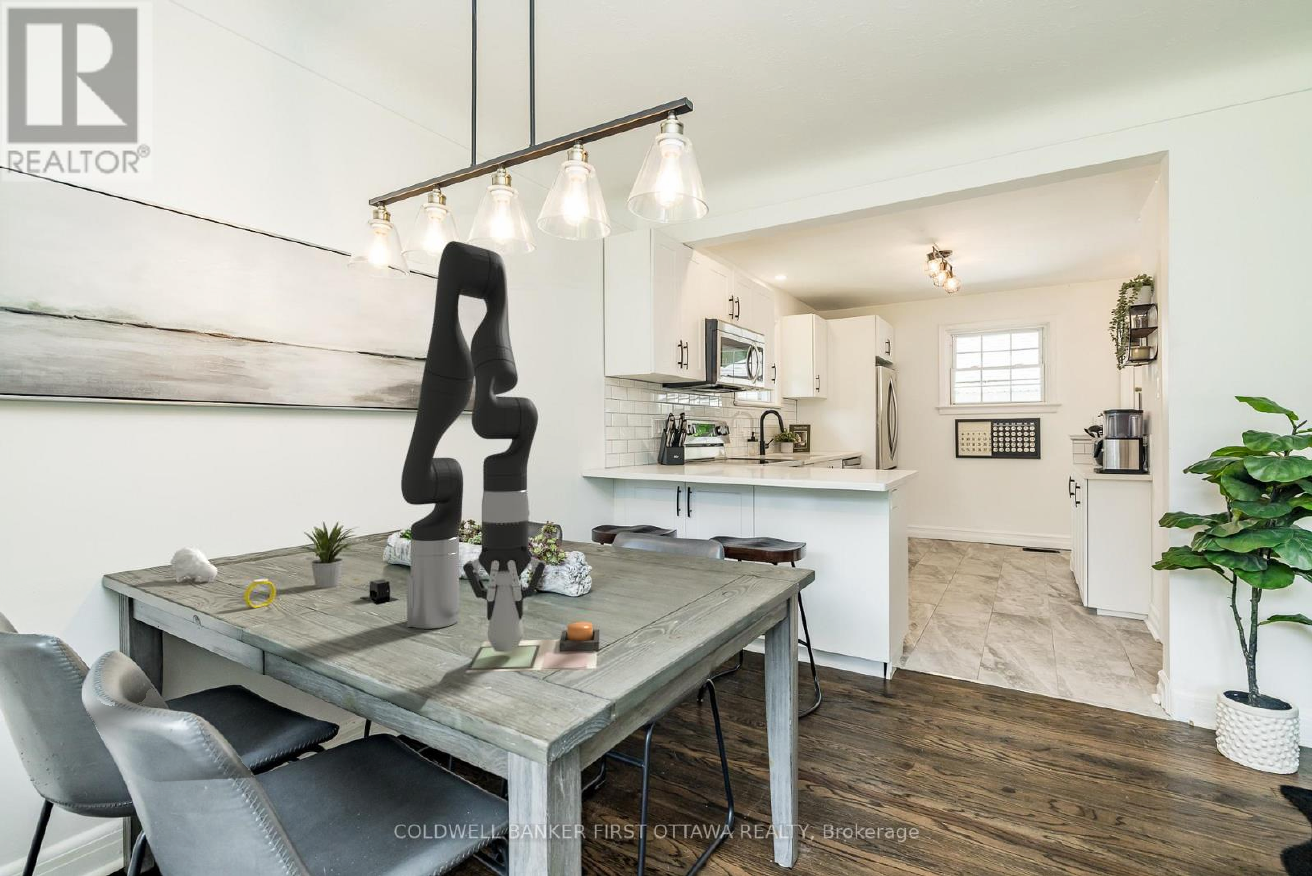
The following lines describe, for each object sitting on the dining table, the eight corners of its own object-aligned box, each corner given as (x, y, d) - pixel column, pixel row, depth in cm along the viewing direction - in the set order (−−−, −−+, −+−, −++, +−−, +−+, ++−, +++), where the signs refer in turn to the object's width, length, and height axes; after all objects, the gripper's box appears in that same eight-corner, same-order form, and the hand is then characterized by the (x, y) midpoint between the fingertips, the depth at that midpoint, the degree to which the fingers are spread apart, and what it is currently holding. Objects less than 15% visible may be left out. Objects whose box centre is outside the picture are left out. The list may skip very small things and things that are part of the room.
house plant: (353, 591, 146) (353, 524, 146) (288, 595, 142) (288, 526, 142) (364, 578, 159) (364, 516, 159) (305, 581, 155) (305, 518, 155)
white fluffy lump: (193, 544, 161) (227, 550, 158) (191, 575, 161) (225, 582, 158) (168, 548, 155) (203, 555, 152) (166, 581, 155) (200, 588, 152)
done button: (566, 641, 102) (566, 630, 102) (568, 633, 107) (568, 622, 107) (592, 641, 103) (592, 629, 103) (593, 632, 107) (593, 621, 107)
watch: (269, 603, 136) (271, 577, 136) (277, 605, 135) (278, 578, 135) (241, 608, 131) (243, 581, 131) (248, 610, 129) (250, 582, 130)
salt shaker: (514, 655, 95) (514, 573, 95) (481, 652, 96) (480, 572, 96) (529, 642, 101) (528, 565, 101) (497, 640, 102) (497, 564, 102)
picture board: (457, 683, 91) (457, 665, 91) (479, 646, 107) (479, 631, 107) (602, 678, 93) (602, 661, 93) (603, 643, 109) (603, 628, 109)
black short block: (407, 602, 138) (407, 582, 138) (375, 609, 132) (375, 588, 132) (382, 593, 146) (382, 574, 146) (351, 599, 140) (351, 580, 140)
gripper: (456, 521, 95) (456, 631, 95) (546, 520, 96) (546, 628, 96) (467, 515, 102) (467, 616, 102) (550, 514, 103) (550, 614, 103)
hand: (505, 621), depth 99 cm, fingers closed on salt shaker, 3 cm apart
